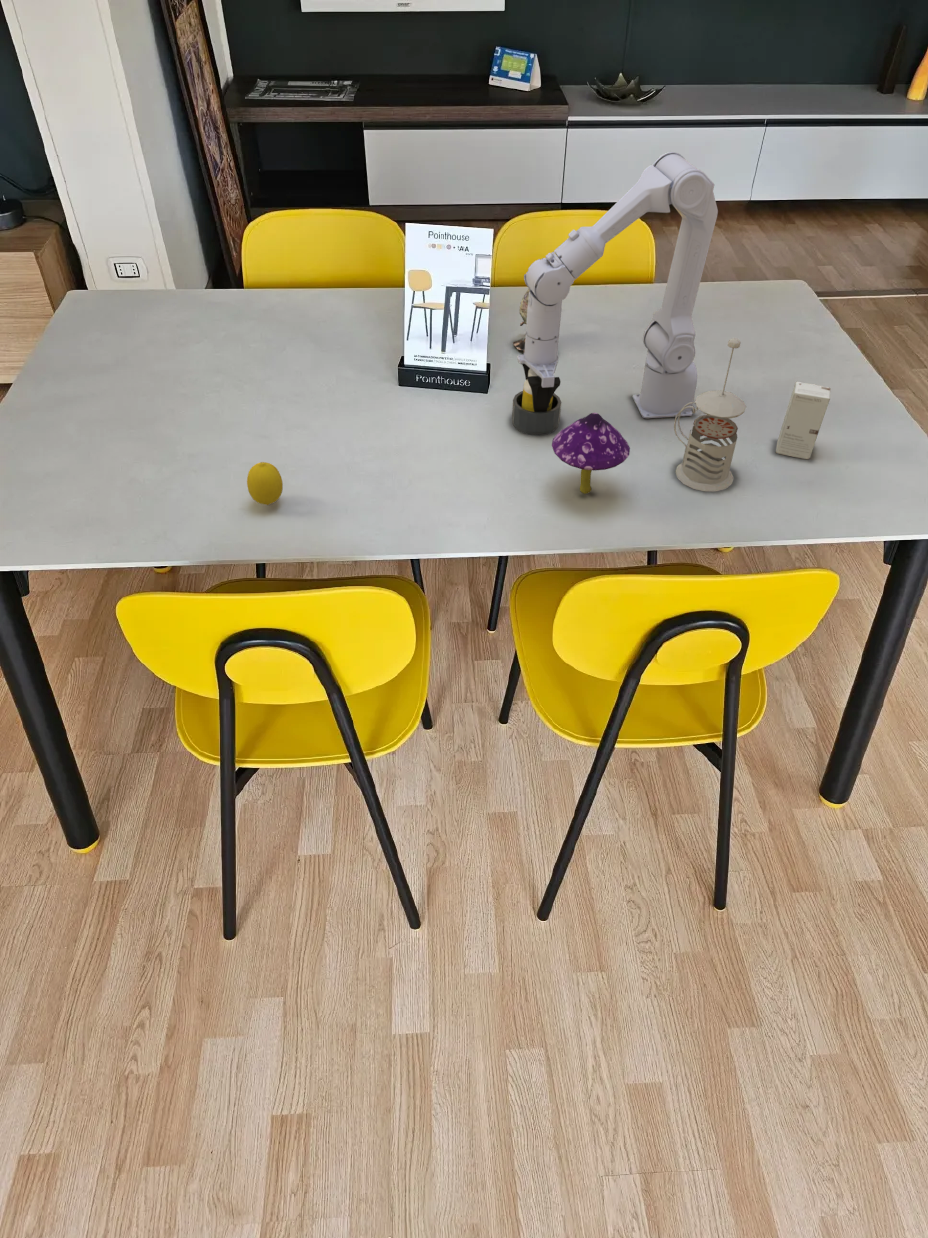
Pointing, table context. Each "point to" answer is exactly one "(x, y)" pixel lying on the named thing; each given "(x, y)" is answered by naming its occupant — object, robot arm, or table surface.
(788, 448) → the cosmetic box
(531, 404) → the supplement bottle
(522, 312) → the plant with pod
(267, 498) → the lemon
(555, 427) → the metal bowl
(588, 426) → the decorative mushroom
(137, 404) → the table surface
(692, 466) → the french press
